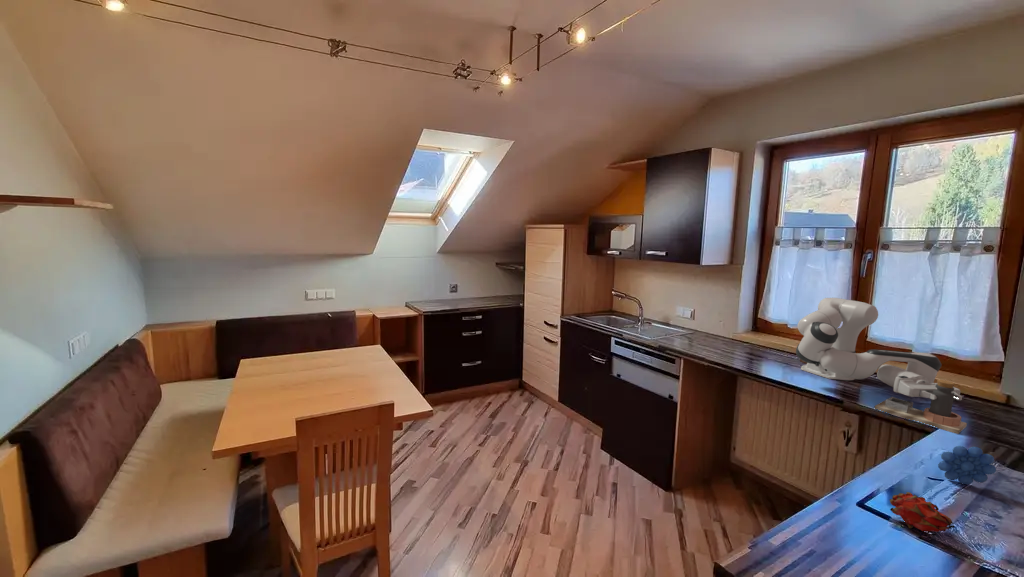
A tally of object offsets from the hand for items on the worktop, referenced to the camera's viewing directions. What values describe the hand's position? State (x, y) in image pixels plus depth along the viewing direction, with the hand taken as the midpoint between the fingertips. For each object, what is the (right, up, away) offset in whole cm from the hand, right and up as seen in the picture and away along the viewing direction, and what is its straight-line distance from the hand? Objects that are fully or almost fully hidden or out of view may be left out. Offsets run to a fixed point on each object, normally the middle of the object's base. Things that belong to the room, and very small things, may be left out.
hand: (948, 398), depth 168 cm
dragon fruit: (-65, -18, -59) cm, 89 cm away
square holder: (-8, -7, +13) cm, 17 cm away
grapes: (-33, -16, -38) cm, 53 cm away
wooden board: (-4, -10, +8) cm, 13 cm away
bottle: (-2, -9, +2) cm, 9 cm away
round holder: (0, -9, +2) cm, 9 cm away
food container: (-3, +1, +79) cm, 79 cm away
